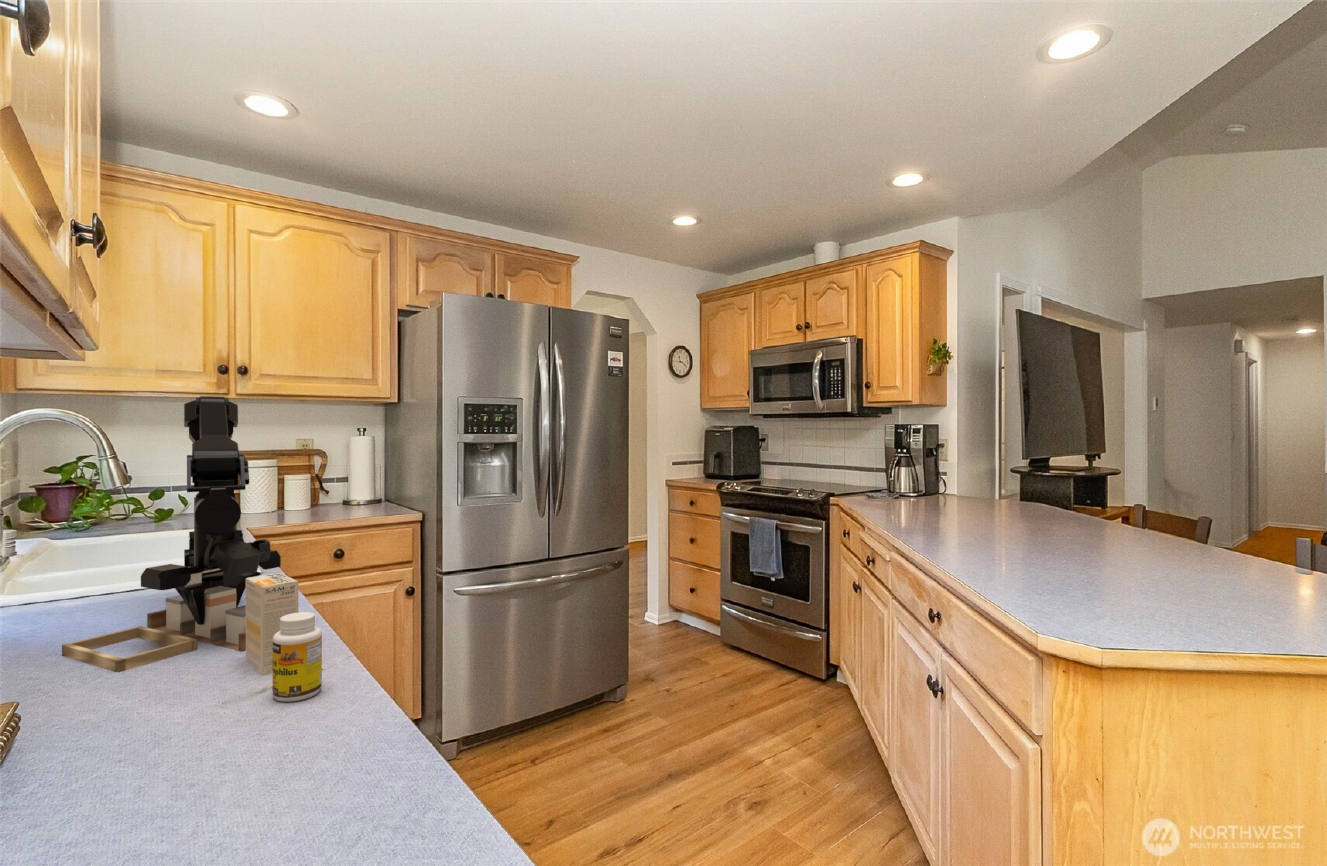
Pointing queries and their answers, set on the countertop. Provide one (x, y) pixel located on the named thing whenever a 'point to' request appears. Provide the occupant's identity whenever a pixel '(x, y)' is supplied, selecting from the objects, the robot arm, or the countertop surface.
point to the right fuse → (235, 623)
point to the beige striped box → (216, 608)
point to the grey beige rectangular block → (176, 612)
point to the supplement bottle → (297, 658)
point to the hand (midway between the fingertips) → (215, 620)
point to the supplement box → (267, 616)
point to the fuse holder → (188, 630)
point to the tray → (87, 655)
